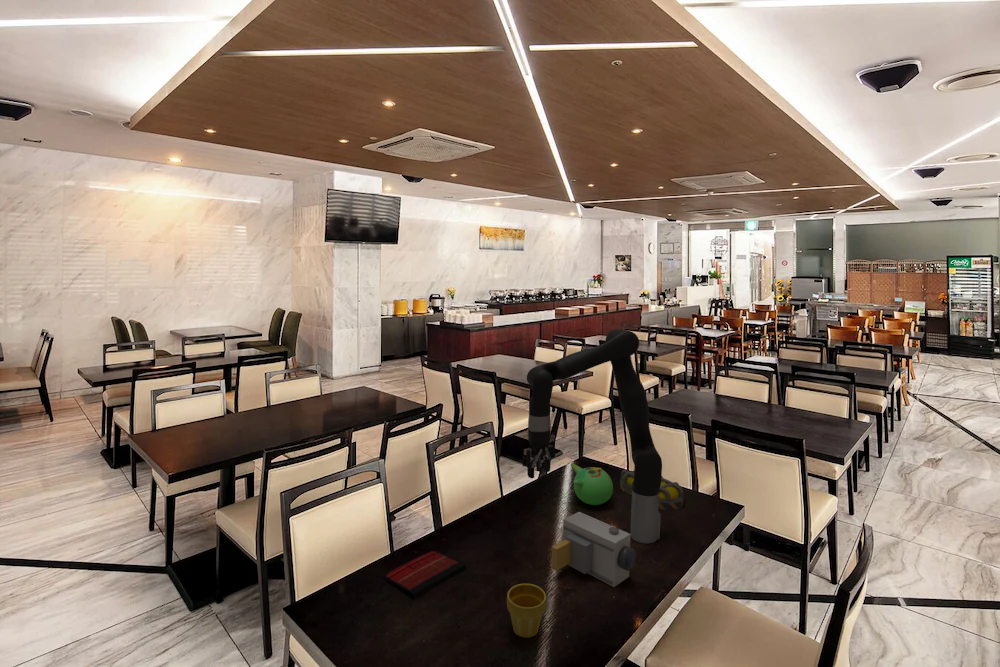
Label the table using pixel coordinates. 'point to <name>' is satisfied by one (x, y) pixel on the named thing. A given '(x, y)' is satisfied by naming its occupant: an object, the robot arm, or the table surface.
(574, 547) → the door
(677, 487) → the cage light
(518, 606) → the plant pot
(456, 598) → the table surface
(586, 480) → the toy bird
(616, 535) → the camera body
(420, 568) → the binder
